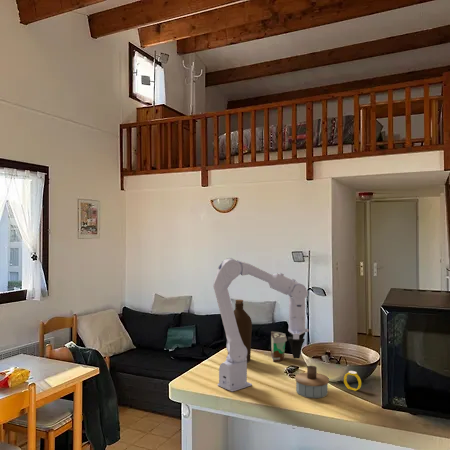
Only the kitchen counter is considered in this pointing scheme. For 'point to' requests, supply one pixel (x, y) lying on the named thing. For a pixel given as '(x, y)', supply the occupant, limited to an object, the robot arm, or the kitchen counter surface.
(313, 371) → the lid
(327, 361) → the lighter
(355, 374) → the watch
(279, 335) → the food container
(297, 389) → the bowl
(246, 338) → the olive oil
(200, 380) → the kitchen counter surface
